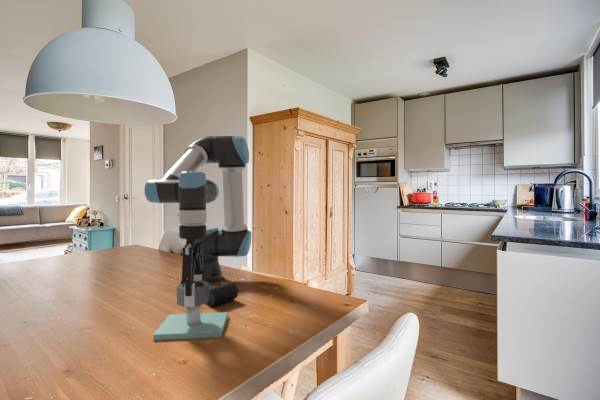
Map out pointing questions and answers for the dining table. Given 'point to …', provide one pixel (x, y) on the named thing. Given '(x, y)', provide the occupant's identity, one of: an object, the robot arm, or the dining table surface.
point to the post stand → (192, 325)
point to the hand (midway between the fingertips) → (193, 300)
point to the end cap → (222, 293)
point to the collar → (200, 293)
